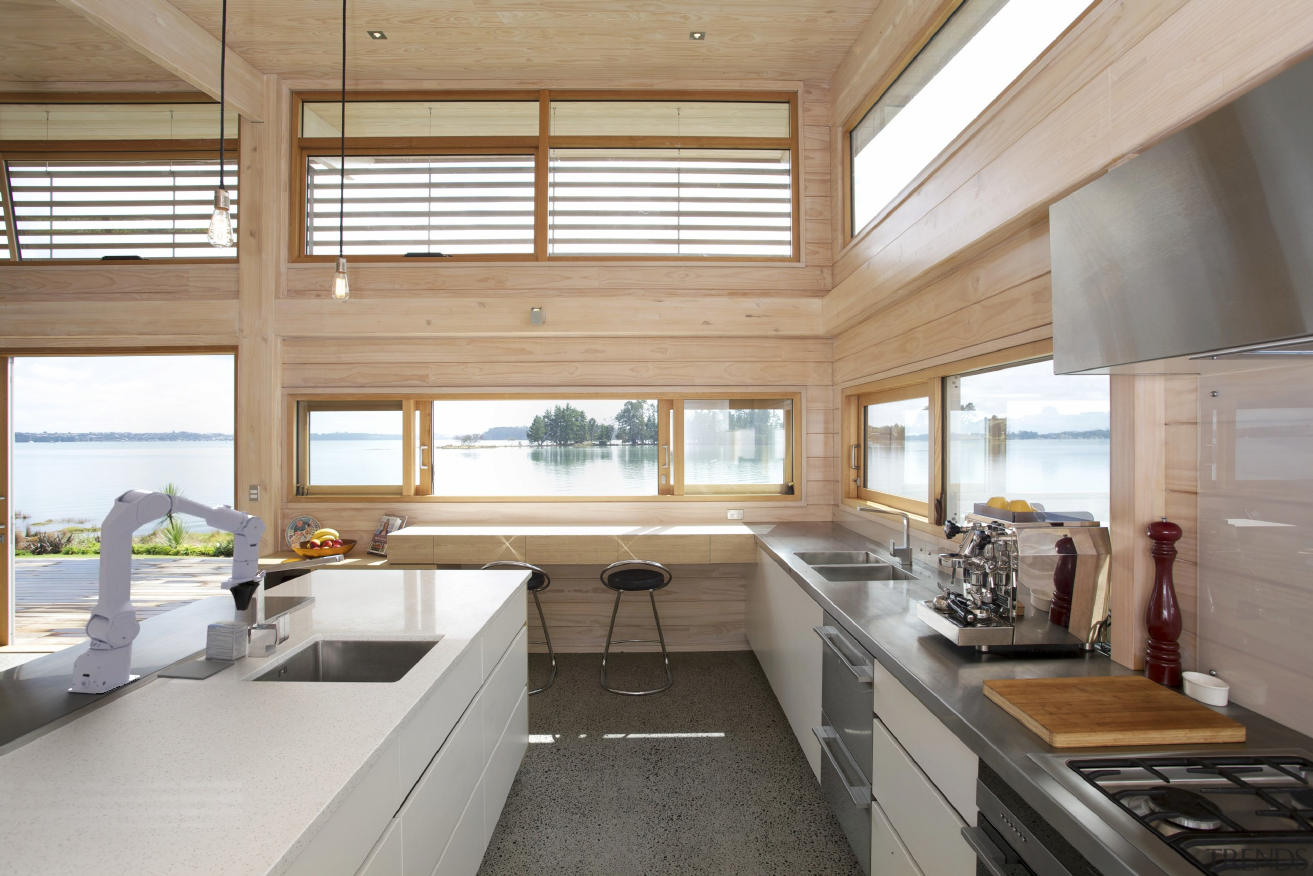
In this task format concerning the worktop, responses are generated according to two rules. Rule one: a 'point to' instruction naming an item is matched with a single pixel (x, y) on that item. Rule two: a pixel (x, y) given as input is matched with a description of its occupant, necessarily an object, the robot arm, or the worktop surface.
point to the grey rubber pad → (196, 669)
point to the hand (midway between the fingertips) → (242, 609)
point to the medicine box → (226, 640)
